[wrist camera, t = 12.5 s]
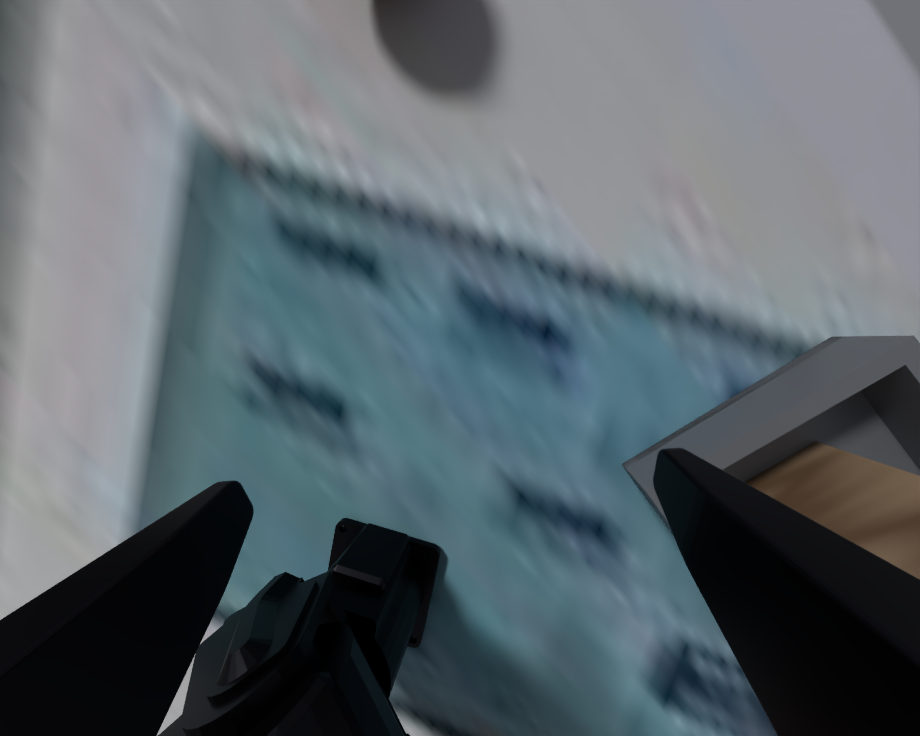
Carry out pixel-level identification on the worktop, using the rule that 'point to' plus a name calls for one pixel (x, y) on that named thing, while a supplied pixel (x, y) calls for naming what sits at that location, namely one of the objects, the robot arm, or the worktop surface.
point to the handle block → (852, 500)
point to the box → (809, 413)
